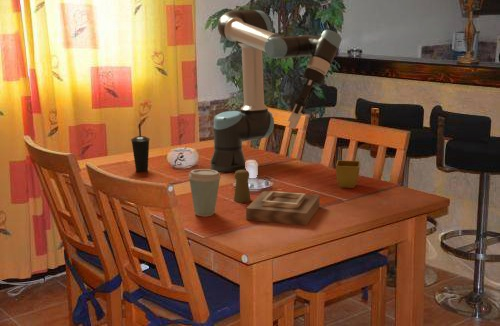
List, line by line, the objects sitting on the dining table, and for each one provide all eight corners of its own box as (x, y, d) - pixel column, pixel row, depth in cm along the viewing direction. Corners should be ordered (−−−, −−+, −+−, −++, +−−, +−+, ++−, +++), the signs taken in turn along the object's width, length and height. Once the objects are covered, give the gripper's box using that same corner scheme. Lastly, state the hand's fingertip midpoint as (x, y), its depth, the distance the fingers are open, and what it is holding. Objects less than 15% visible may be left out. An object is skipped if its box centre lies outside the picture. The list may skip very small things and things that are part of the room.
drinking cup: (141, 167, 287) (139, 121, 282) (154, 170, 282) (152, 123, 277) (128, 171, 281) (126, 124, 276) (142, 174, 276) (139, 126, 271)
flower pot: (358, 190, 252) (359, 166, 250) (335, 188, 254) (335, 165, 251) (359, 183, 260) (360, 161, 258) (336, 182, 262) (337, 160, 260)
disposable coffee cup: (201, 207, 233) (200, 165, 230) (227, 211, 228) (226, 168, 224) (183, 215, 225) (181, 172, 221) (210, 220, 219) (209, 176, 216)
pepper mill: (242, 196, 245) (242, 167, 242) (254, 200, 241) (253, 170, 238) (230, 200, 241) (229, 170, 238) (242, 203, 237) (241, 173, 234)
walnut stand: (246, 219, 220) (246, 203, 219) (263, 201, 238) (263, 187, 237) (306, 225, 214) (306, 208, 213) (319, 206, 233) (319, 191, 231)
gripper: (327, 67, 230) (301, 124, 229) (324, 83, 255) (300, 134, 253) (307, 59, 230) (281, 115, 229) (305, 75, 255) (282, 126, 254)
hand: (291, 125), depth 241 cm, fingers open, 13 cm apart
